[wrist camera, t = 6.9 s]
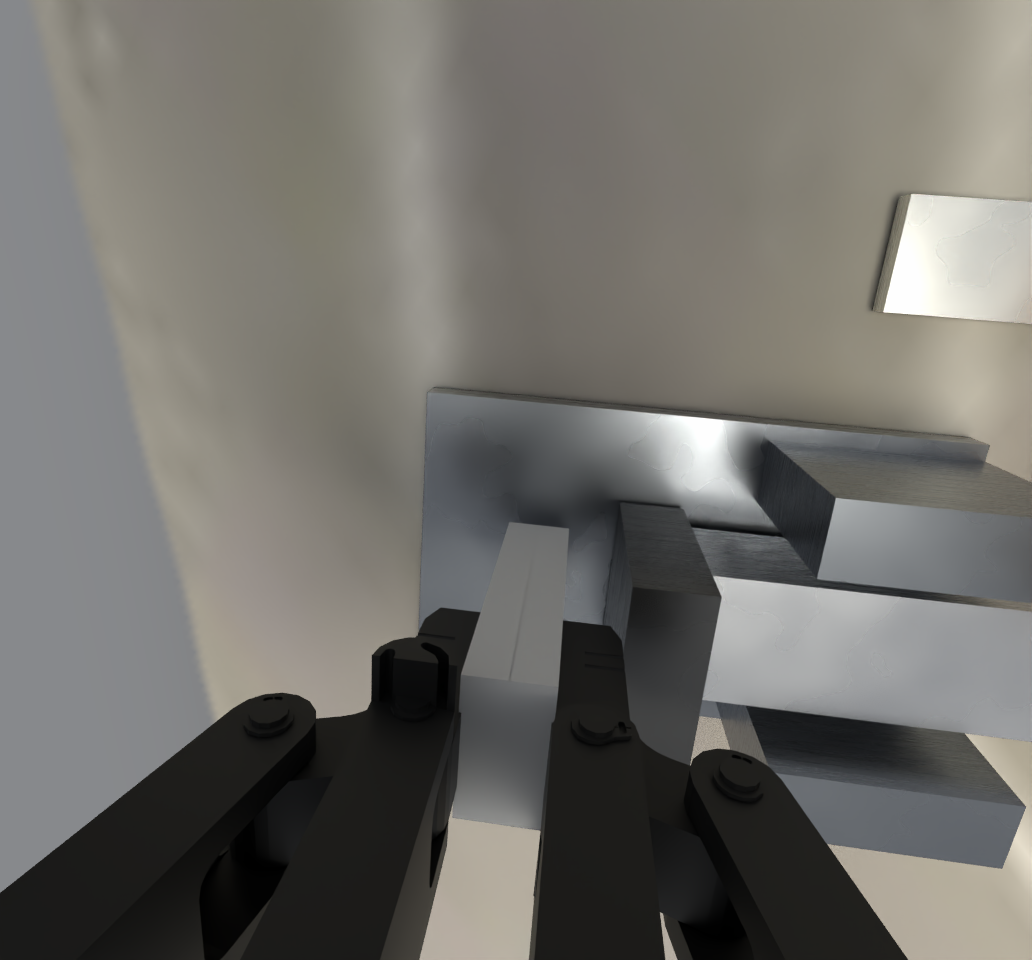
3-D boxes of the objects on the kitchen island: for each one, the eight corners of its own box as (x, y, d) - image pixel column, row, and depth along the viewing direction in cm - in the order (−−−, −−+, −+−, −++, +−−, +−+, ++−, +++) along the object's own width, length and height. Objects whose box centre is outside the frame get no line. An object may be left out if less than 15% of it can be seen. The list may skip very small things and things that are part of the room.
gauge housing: (443, 166, 15) (375, 111, 10) (1356, 228, 14) (1781, 198, 9) (423, 663, 20) (368, 793, 15) (1128, 753, 18) (1334, 932, 13)
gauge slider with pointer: (662, 174, 14) (704, 115, 9) (1423, 225, 13) (1939, 188, 8) (602, 634, 18) (608, 773, 13) (1200, 707, 16) (1466, 890, 11)
